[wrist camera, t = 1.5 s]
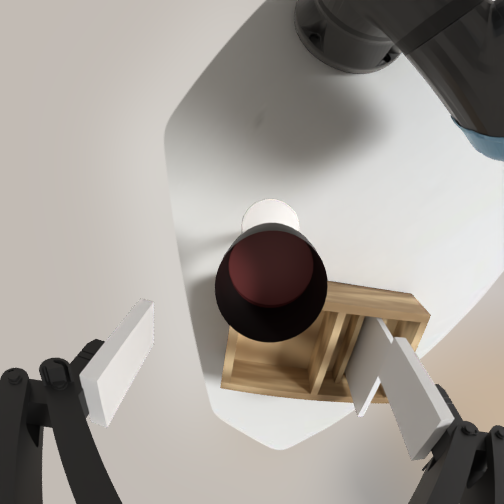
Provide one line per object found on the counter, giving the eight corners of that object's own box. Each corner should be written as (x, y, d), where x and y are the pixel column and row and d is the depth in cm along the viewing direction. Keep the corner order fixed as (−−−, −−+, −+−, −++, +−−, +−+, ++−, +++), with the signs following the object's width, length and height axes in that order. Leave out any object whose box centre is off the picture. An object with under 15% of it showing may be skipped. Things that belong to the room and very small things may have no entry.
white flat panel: (367, 302, 42) (391, 344, 32) (372, 303, 42) (397, 345, 32) (343, 368, 46) (357, 416, 36) (347, 368, 46) (362, 416, 36)
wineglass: (237, 256, 42) (213, 337, 23) (242, 191, 40) (217, 225, 21) (296, 261, 42) (316, 346, 23) (304, 197, 40) (336, 236, 21)
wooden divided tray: (240, 266, 43) (235, 286, 36) (411, 293, 43) (430, 315, 36) (226, 359, 48) (220, 388, 41) (377, 376, 48) (388, 403, 41)
